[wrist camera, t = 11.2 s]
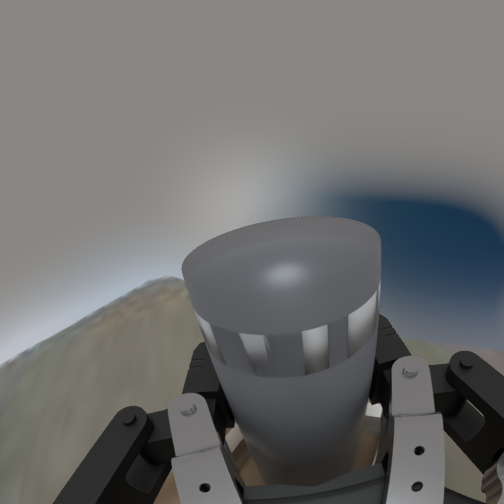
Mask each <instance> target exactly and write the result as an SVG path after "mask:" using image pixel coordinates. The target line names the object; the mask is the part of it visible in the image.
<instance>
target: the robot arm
mask: <svg viewBox="0 0 504 504" xmlns="http://www.w3.org/2000/svg"><path fill="white" fill-rule="evenodd" d="M189 367H190V369H189V370H188V373H187V377H186V381H185V384H184V388H183V392H182V395H180V396H178V397H176V398H175V399H174V400H172V402H171V403H170V404H169V407H168V409H166V410H163V411H158V412H154V413H149V414H147V413H146V412H145V411H144V410H143V409H142V408H140V407H138V406H129V407H126V408H123V409H122V410H120V411H119V412H118V413H117V414H116V415H115V416H114V418H113V419H112V421H111V422H110V423H109V425H108V426H107V427H106V429H105V430H104V432H103V433H102V434H101V436H100V437H99V439H98V440H97V441H96V443H95V444H94V446H93V447H92V448H91V450H90V451H89V453H88V454H87V455H86V457H85V458H84V460H83V461H82V462H81V464H80V465H79V467H78V468H77V470H76V471H75V472H74V474H73V475H72V477H71V478H70V479H69V481H68V482H67V484H66V485H65V487H64V488H63V489H62V491H61V492H60V494H59V495H58V497H57V498H56V500H55V501H54V502H53V504H153V503H154V501H155V499H156V498H157V496H158V494H159V492H160V490H161V488H162V486H163V484H164V482H165V480H166V478H167V476H168V475H169V473H170V471H171V469H173V473H174V478H175V482H176V486H177V490H178V494H179V498H180V502H181V504H504V376H503V375H502V374H500V373H499V372H498V371H497V370H495V369H494V368H493V367H492V366H490V365H489V364H488V363H487V362H485V361H484V360H483V359H482V358H480V357H479V356H478V355H476V354H475V353H473V352H470V351H460V352H457V353H455V354H454V355H453V356H452V357H451V359H450V362H449V363H448V364H439V365H428V364H427V362H426V361H425V360H423V359H422V358H420V357H417V356H412V355H411V353H410V352H409V350H408V349H407V347H406V346H405V344H404V343H403V341H402V340H401V338H400V337H399V335H398V334H396V331H395V330H394V328H392V325H391V324H390V322H389V321H388V320H387V318H385V317H383V316H382V315H380V314H379V322H378V334H377V344H376V353H375V361H374V368H373V375H372V382H371V388H370V394H369V400H370V402H371V405H375V404H378V403H380V404H381V407H382V412H381V419H380V431H379V441H378V450H377V456H376V460H375V464H374V465H372V466H369V467H365V468H362V469H358V470H354V471H350V472H348V473H346V474H344V475H341V476H339V477H337V478H335V479H332V480H330V481H328V482H325V483H323V484H321V485H318V486H312V487H311V486H294V485H283V484H273V485H260V486H246V484H245V483H244V481H243V479H242V477H241V475H240V472H239V470H238V468H237V465H236V463H235V460H234V458H233V456H232V453H231V451H230V448H229V446H228V443H227V441H226V439H225V436H226V428H234V427H235V418H234V415H233V413H232V411H231V408H230V406H229V403H228V401H227V399H226V396H225V394H224V391H223V389H222V386H221V384H220V381H219V379H218V376H217V373H216V371H215V368H214V365H213V363H212V360H211V357H210V355H209V352H208V349H207V346H206V344H205V342H202V343H200V344H199V345H198V346H197V348H196V349H195V350H194V352H193V355H192V359H191V363H190V366H189ZM467 400H468V401H470V402H471V403H472V404H473V405H474V406H475V407H476V408H477V409H478V410H479V411H480V412H481V413H482V414H483V415H484V417H483V416H482V415H481V414H480V413H479V412H478V411H477V410H476V409H475V408H474V407H473V406H472V405H471V404H469V403H468V402H467ZM443 430H444V431H445V432H446V433H447V434H448V435H449V436H450V437H451V439H452V440H453V441H454V442H455V443H456V444H457V445H458V446H459V448H460V449H461V450H462V451H463V452H464V453H465V454H466V455H467V457H468V458H469V459H470V460H471V461H472V462H473V463H474V464H475V466H476V467H477V468H478V469H479V470H480V471H481V472H482V474H483V479H482V486H481V491H482V492H483V493H486V503H483V502H481V501H478V500H475V499H472V498H470V497H467V496H465V495H462V494H460V493H457V492H455V491H453V490H450V489H448V488H446V487H444V482H445V450H444V431H443Z"/></svg>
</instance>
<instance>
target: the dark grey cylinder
mask: <svg viewBox="0 0 504 504" xmlns="http://www.w3.org/2000/svg"><path fill="white" fill-rule="evenodd" d="M182 273H183V277H184V280H185V283H186V286H187V290H188V293H189V296H190V299H191V302H192V305H193V309H194V312H195V315H196V318H197V321H198V324H199V326H200V329H201V332H202V335H203V338H204V341H205V344H206V346H207V349H208V352H209V355H210V357H211V360H212V363H213V365H214V368H215V371H216V373H217V376H218V379H219V381H220V384H221V386H222V389H223V391H224V394H225V396H226V399H227V401H228V403H229V406H230V408H231V411H232V413H233V415H234V418H235V420H236V422H237V425H238V427H239V429H240V431H241V434H242V436H243V438H244V440H245V442H246V445H247V447H248V449H249V451H250V453H251V455H252V457H253V459H254V462H255V464H256V466H257V468H258V470H259V472H260V474H261V476H262V478H263V480H264V481H265V483H266V484H267V485H273V484H283V485H294V486H311V487H312V486H318V485H321V484H323V483H325V482H328V481H330V480H332V479H335V478H337V477H339V476H341V475H344V474H346V473H348V472H350V471H351V469H352V466H353V463H354V460H355V456H356V452H357V449H358V445H359V441H360V437H361V433H362V428H363V424H364V419H365V415H366V410H367V405H368V399H369V394H370V388H371V382H372V375H373V368H374V361H375V353H376V344H377V334H378V322H379V307H380V286H381V240H380V236H379V234H378V233H377V232H376V231H375V230H374V229H373V228H372V227H370V226H368V225H366V224H364V223H361V222H358V221H354V220H350V219H345V218H338V217H322V216H320V217H319V216H317V217H314V216H313V217H312V216H311V217H295V218H286V219H279V220H272V221H267V222H262V223H257V224H253V225H249V226H245V227H242V228H239V229H236V230H233V231H230V232H227V233H225V234H222V235H219V236H217V237H215V238H213V239H211V240H209V241H207V242H205V243H204V244H202V245H200V246H198V247H197V248H196V249H194V250H193V251H192V252H191V253H190V254H189V255H188V256H187V257H186V258H185V260H184V262H183V264H182Z"/></svg>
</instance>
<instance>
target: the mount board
mask: <svg viewBox="0 0 504 504" xmlns="http://www.w3.org/2000/svg"><path fill="white" fill-rule="evenodd" d="M381 412H382V407H381V404H380V403H378V404H375V405H371V402H370V400H369V399H368V405H367V410H366V415H365V419H364V424H363V428H362V433H361V437H360V441H359V445H358V449H357V452H356V456H355V460H354V463H353V466H352V469H351V471H354V470H358V469H362V468H365V467H369V466H372V465H374V464H375V460H376V456H377V450H378V441H379V431H380V419H381ZM225 439H226V441H227V443H228V446H229V448H230V451H231V453H232V456H233V458H234V460H235V463H236V465H237V468H238V470H239V472H240V475H241V477H242V479H243V481H244V483H245V484H246V486H260V485H267V484H266V483H265V481H264V480H263V478H262V476H261V474H260V472H259V470H258V468H257V466H256V464H255V462H254V459H253V457H252V455H251V453H250V451H249V449H248V447H247V445H246V442H245V440H244V438H243V436H242V434H241V431H240V429H239V427H238V425H237V422H236V420H235V427H234V428H226V436H225ZM153 504H181V502H180V498H179V494H178V490H177V486H176V482H175V478H174V473H173V472H172V473H171V474H170V475H169V476H168V477H167V478H166V480H165V482H164V484H163V486H162V488H161V490H160V492H159V494H158V496H157V498H156V499H155V501H154V503H153Z"/></svg>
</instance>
